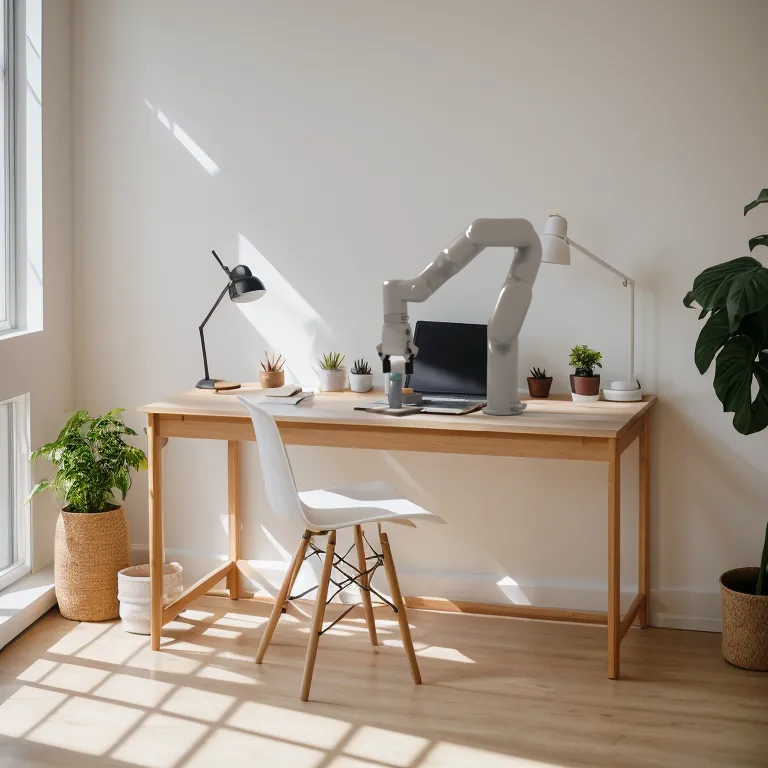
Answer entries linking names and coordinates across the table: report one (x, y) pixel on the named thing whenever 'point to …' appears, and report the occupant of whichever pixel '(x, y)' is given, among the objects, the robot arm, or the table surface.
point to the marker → (395, 390)
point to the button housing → (411, 398)
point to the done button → (407, 391)
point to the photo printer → (396, 367)
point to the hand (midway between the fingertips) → (398, 373)
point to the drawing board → (394, 410)
